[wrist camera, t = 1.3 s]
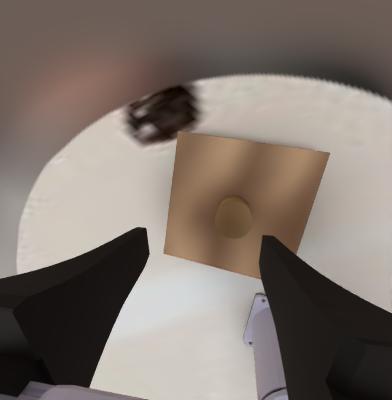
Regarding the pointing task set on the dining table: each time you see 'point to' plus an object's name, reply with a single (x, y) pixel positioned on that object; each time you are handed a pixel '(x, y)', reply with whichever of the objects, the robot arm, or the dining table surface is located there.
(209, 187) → the lid
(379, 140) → the dining table surface
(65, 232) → the dining table surface
